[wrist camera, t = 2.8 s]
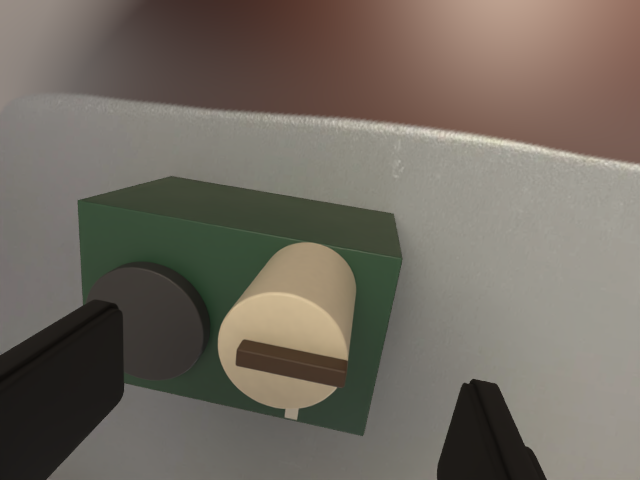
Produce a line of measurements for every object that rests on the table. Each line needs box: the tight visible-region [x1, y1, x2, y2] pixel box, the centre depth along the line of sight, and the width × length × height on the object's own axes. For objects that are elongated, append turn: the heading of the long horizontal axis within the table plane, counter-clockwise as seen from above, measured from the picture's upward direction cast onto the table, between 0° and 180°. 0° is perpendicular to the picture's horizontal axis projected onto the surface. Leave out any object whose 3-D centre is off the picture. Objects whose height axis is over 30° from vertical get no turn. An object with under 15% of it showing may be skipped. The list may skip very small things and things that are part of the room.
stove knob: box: [218, 242, 356, 409], centre depth 14 cm, size 4×4×6 cm
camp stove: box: [78, 176, 402, 436], centre depth 21 cm, size 14×9×9 cm, turn 82°
